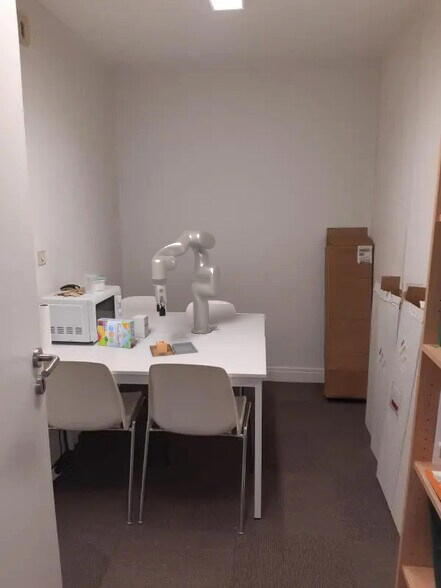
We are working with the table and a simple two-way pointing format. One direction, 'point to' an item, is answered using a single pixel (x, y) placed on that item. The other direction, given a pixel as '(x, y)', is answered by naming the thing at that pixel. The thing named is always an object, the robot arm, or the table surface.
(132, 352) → the table surface
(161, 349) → the letter cube
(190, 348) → the grey tray
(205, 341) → the table surface
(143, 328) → the supplement box
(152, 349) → the wooden tray
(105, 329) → the snack box
